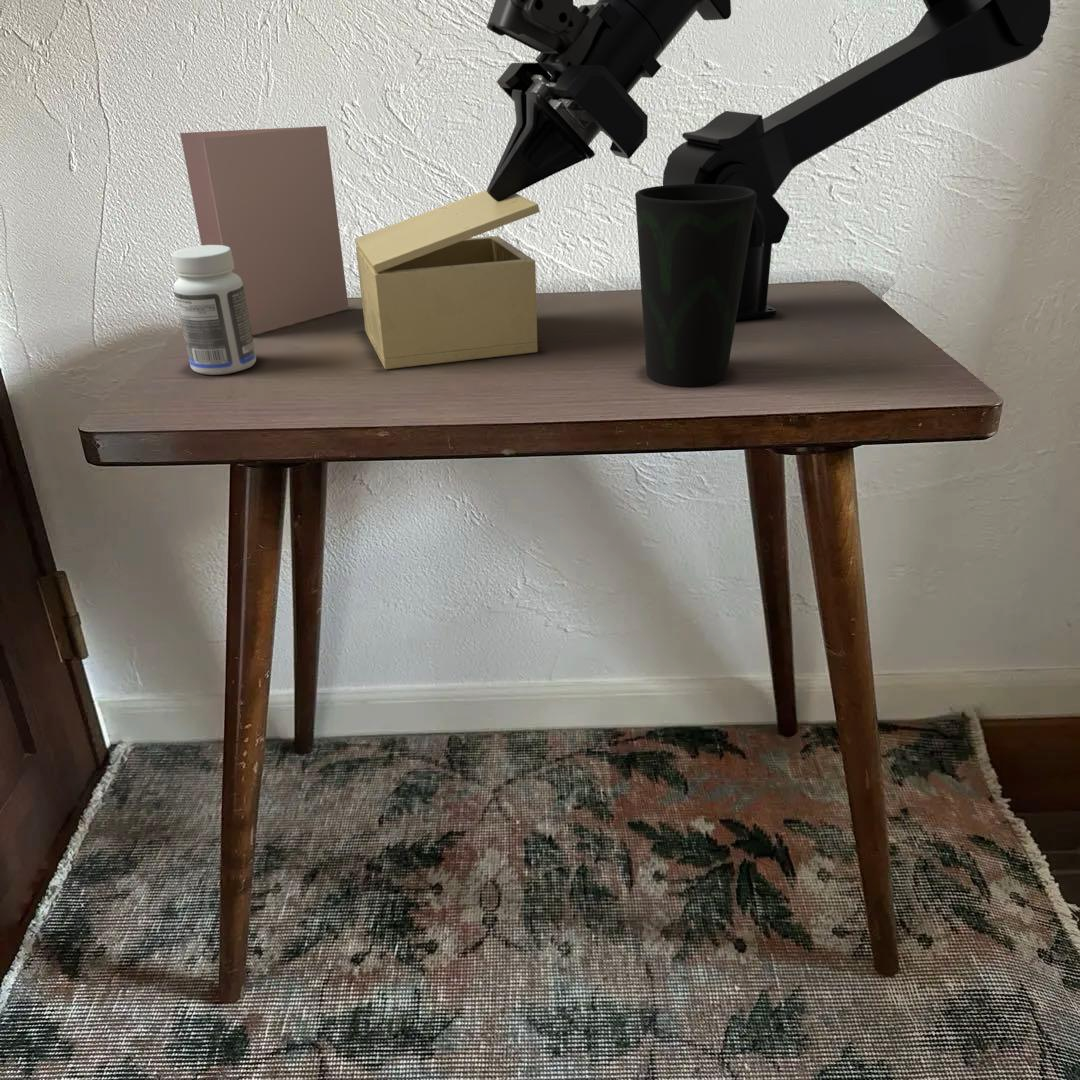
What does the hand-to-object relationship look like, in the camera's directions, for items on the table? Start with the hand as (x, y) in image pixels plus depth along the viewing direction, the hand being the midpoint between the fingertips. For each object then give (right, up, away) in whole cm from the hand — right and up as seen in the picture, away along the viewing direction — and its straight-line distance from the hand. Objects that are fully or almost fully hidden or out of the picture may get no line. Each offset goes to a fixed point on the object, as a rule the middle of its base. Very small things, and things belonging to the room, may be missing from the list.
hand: (492, 196), depth 70 cm
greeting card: (-18, -7, +10) cm, 22 cm away
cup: (+14, -14, -4) cm, 20 cm away
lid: (-4, -2, 0) cm, 4 cm away
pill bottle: (-20, -13, 0) cm, 24 cm away
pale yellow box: (-4, -10, +4) cm, 11 cm away
